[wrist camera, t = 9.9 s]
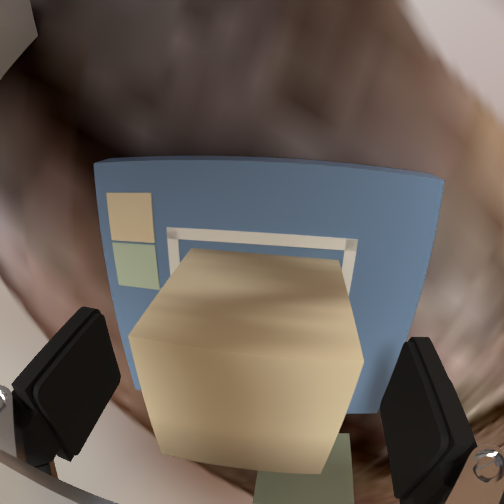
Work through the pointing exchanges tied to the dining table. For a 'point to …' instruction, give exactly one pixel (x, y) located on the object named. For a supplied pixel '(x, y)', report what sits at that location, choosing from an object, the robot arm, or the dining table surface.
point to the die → (15, 31)
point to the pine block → (249, 360)
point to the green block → (311, 481)
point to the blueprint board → (275, 235)
